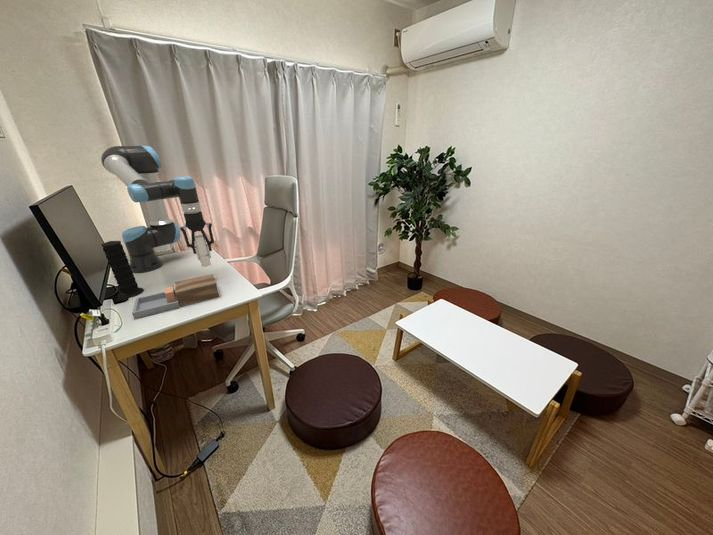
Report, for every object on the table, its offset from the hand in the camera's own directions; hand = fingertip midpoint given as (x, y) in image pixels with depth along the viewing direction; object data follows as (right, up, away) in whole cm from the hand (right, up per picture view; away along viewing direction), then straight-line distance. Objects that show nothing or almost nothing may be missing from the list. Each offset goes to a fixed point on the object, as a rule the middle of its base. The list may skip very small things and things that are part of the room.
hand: (204, 258), depth 137 cm
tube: (0, -4, +2) cm, 4 cm away
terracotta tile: (-5, -17, -14) cm, 23 cm away
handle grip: (-33, -17, -5) cm, 37 cm away
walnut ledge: (+2, -18, -8) cm, 20 cm away
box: (-12, -22, -16) cm, 29 cm away
